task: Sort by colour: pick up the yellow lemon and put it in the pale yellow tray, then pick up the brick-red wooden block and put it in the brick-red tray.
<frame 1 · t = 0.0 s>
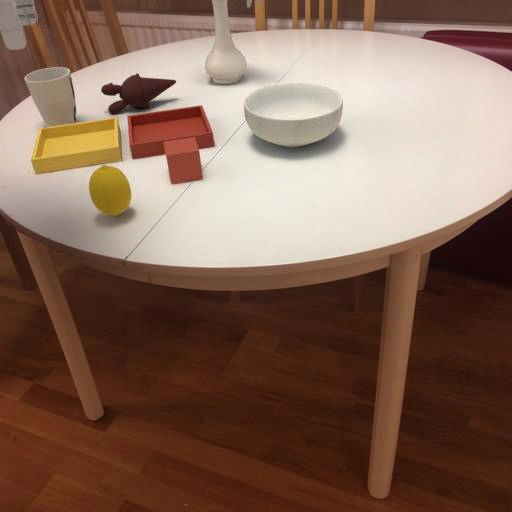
hand: (24, 34, 53), 27 cm above the table, tool pointing down, fingers open, 8 cm apart
cereal bowl: (293, 138, 92), on the table
red block: (185, 174, 84), on the table
flower vase: (230, 80, 118), on the table
yellow tray: (80, 150, 93), on the table
lemon: (117, 216, 75), on the table
icecream: (143, 107, 108), on the table
cup: (62, 126, 103), on the table
red tray: (170, 137, 95), on the table
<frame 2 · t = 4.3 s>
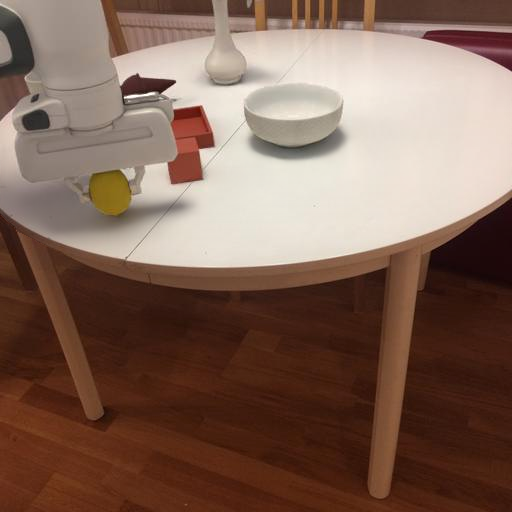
hand: (111, 196, 73), 3 cm above the table, tool pointing down, fingers closed on lemon, 5 cm apart
lemon: (117, 216, 75), on the table, touching gripper
everything else where it was.
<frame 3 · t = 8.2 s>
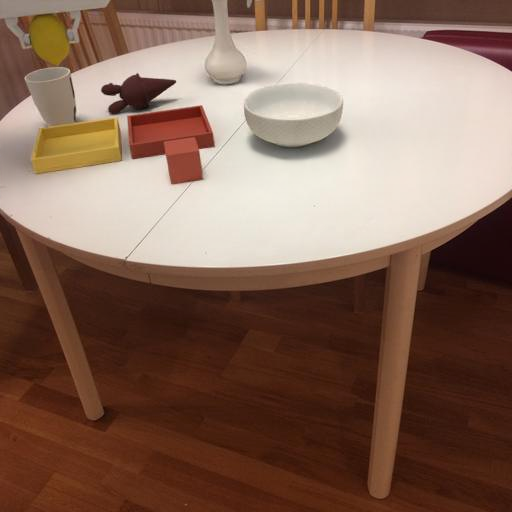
hand: (51, 45, 80), 19 cm above the table, tool pointing down, fingers closed on lemon, 5 cm apart
lemon: (57, 67, 82), point 15 cm above the table, touching gripper
everything else where it was.
when the fingers open (3 cm above the table, at t = 12.4 s): lemon stays where it is, resting on yellow tray.
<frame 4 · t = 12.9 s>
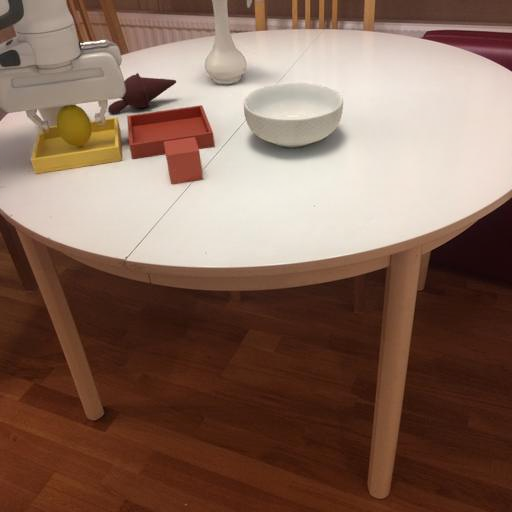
hand: (73, 128, 91), 4 cm above the table, tool pointing down, fingers open, 8 cm apart
lemon: (80, 148, 93), resting on yellow tray
everything else where it was.
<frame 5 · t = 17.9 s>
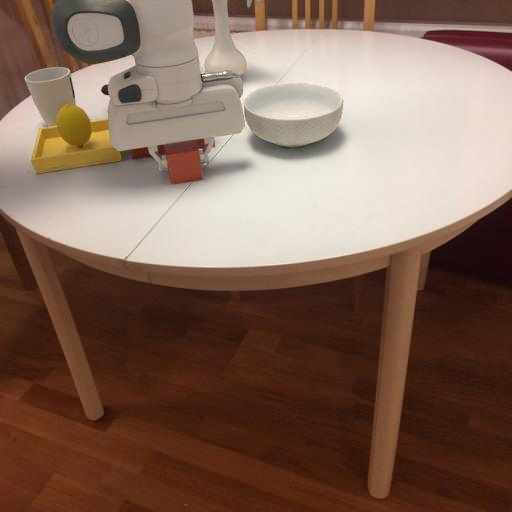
hand: (183, 165, 83), 2 cm above the table, tool pointing down, fingers closed on red block, 5 cm apart
red block: (185, 174, 84), on the table, touching gripper
everything else where it was.
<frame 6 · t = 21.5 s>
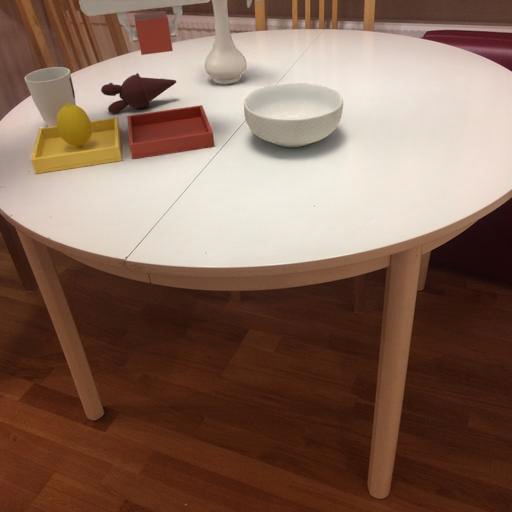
hand: (154, 38, 84), 17 cm above the table, tool pointing down, fingers closed on red block, 5 cm apart
red block: (156, 48, 85), point 16 cm above the table, touching gripper
everything else where it was.
when the fingers open (2 cm above the table, at t = 25.4 s): red block stays where it is, resting on red tray.
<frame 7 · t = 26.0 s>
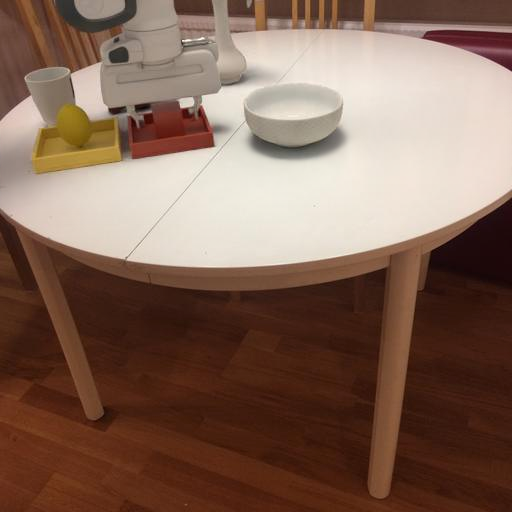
hand: (167, 123, 94), 3 cm above the table, tool pointing down, fingers open, 8 cm apart
red block: (170, 134, 95), point 1 cm above the table, touching red tray
everything else where it was.
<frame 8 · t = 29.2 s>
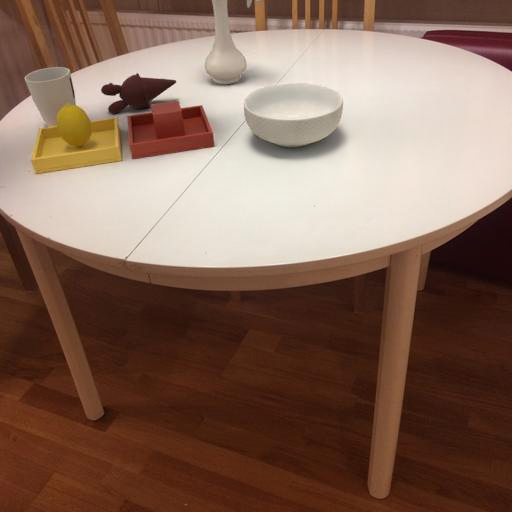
nothing on the table moved.
at the end: lemon inside the target area on the yellow tray (0.1 cm from its centre), point 0.4 cm above the yellow tray's base; red block inside the target area in the red tray (0.1 cm from its centre), point 0.6 cm above the red tray's base; the gripper is holding nothing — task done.
